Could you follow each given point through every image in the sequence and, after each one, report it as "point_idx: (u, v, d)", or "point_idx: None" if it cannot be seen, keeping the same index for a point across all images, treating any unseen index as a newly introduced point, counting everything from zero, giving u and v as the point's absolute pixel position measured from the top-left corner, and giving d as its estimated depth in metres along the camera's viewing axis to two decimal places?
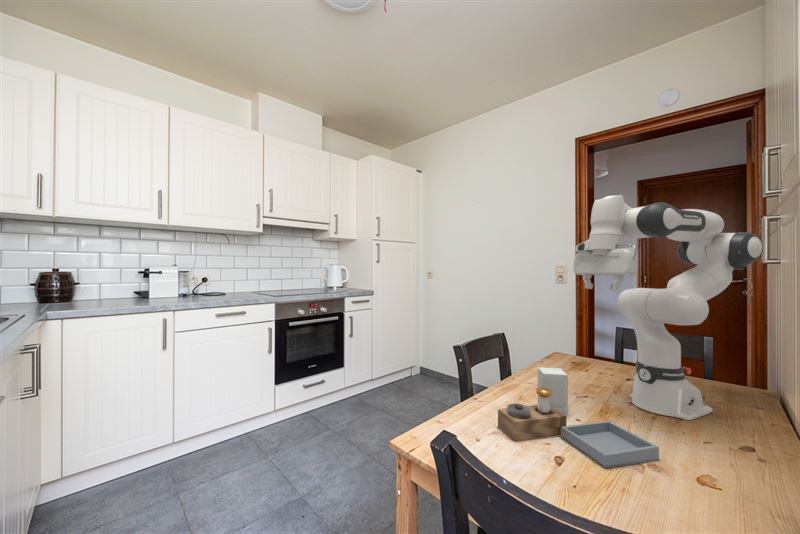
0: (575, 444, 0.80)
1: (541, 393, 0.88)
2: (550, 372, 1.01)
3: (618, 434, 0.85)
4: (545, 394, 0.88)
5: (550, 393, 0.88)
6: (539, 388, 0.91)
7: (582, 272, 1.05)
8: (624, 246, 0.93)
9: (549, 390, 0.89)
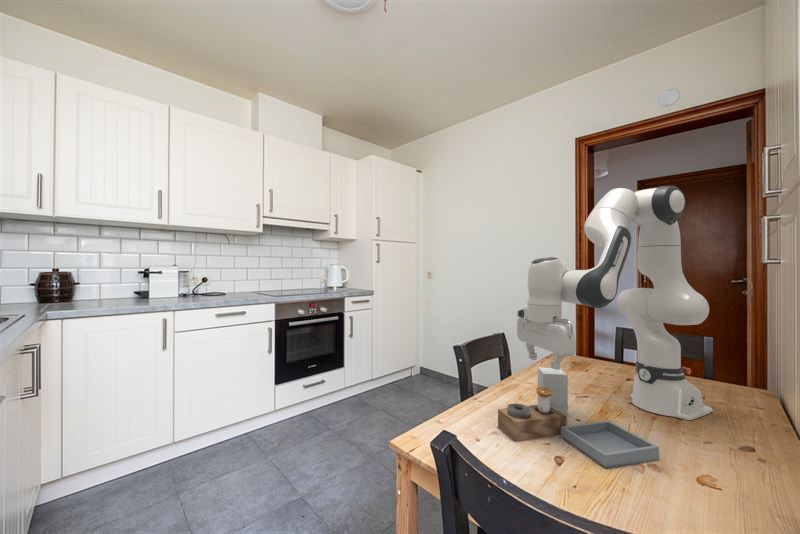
0: (575, 444, 0.80)
1: (541, 393, 0.88)
2: (550, 372, 1.01)
3: (618, 434, 0.85)
4: (545, 394, 0.88)
5: (550, 393, 0.88)
6: (539, 388, 0.91)
7: (525, 341, 0.95)
8: (561, 321, 0.83)
9: (549, 390, 0.89)
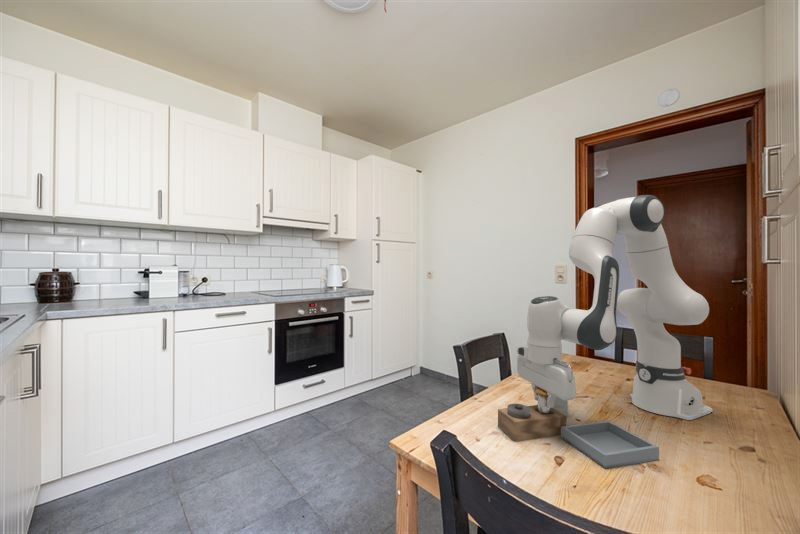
0: (575, 444, 0.80)
1: (541, 393, 0.88)
2: None
3: (618, 434, 0.85)
4: (545, 394, 0.88)
5: None
6: (539, 388, 0.91)
7: (525, 378, 0.95)
8: (561, 364, 0.83)
9: None
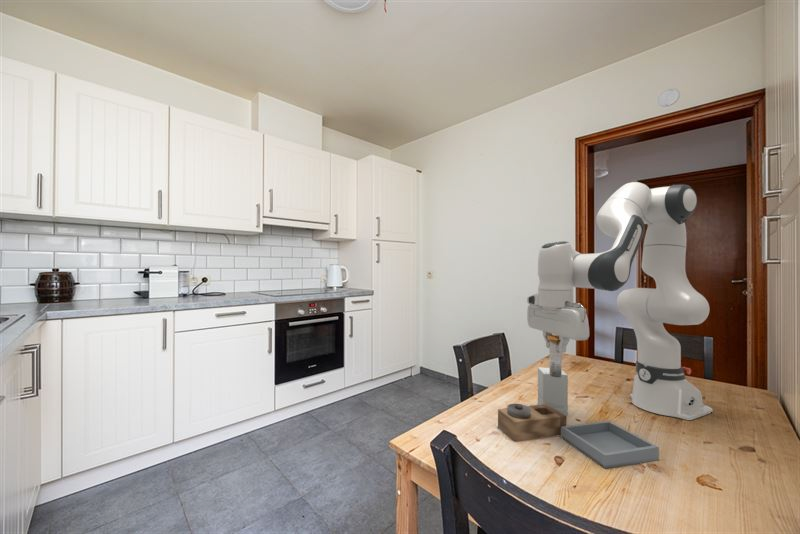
0: (575, 444, 0.80)
1: (553, 338, 0.87)
2: None
3: (618, 434, 0.85)
4: (557, 339, 0.86)
5: None
6: (550, 335, 0.89)
7: (536, 327, 0.94)
8: (573, 305, 0.81)
9: None
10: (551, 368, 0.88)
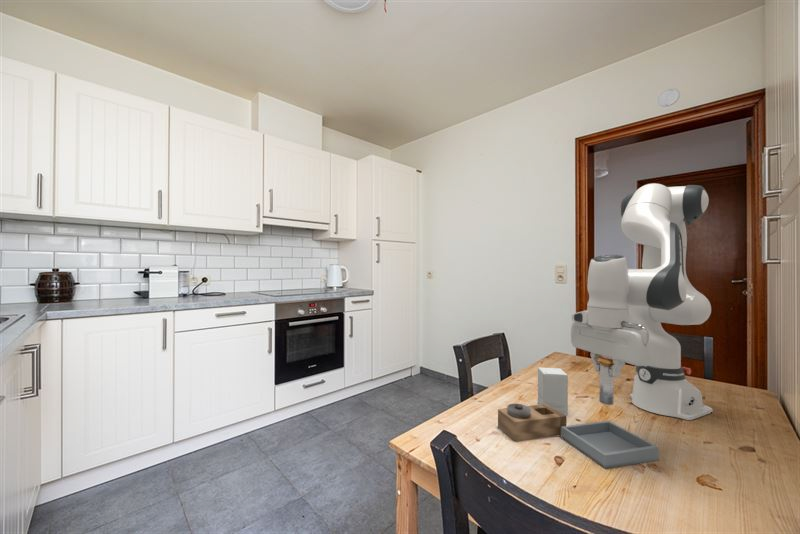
0: (575, 444, 0.80)
1: (605, 361, 0.79)
2: (550, 372, 1.01)
3: (618, 434, 0.85)
4: (610, 362, 0.78)
5: None
6: (601, 357, 0.81)
7: (582, 348, 0.86)
8: (632, 326, 0.73)
9: None
10: (602, 394, 0.79)
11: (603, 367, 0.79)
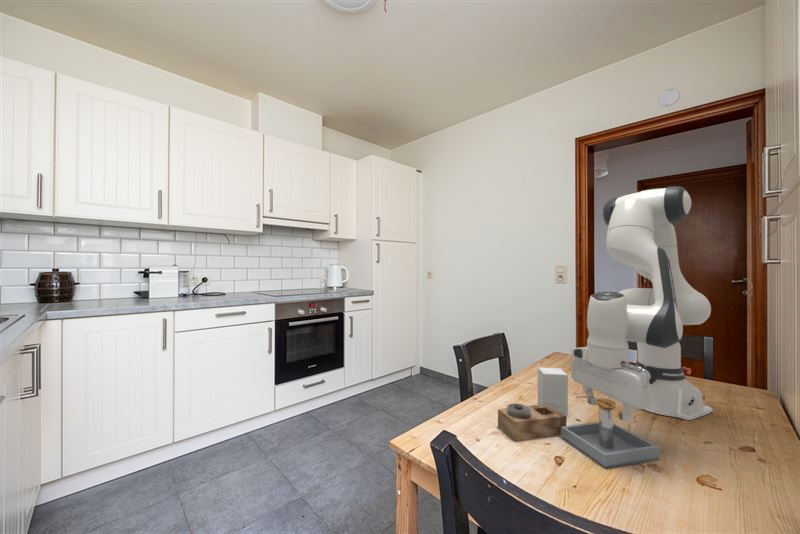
0: (575, 444, 0.80)
1: (604, 406, 0.79)
2: (550, 372, 1.01)
3: (618, 434, 0.85)
4: (609, 407, 0.78)
5: (614, 405, 0.79)
6: (600, 400, 0.81)
7: (582, 383, 0.86)
8: (632, 368, 0.73)
9: (612, 402, 0.80)
10: (602, 438, 0.80)
11: (602, 411, 0.80)
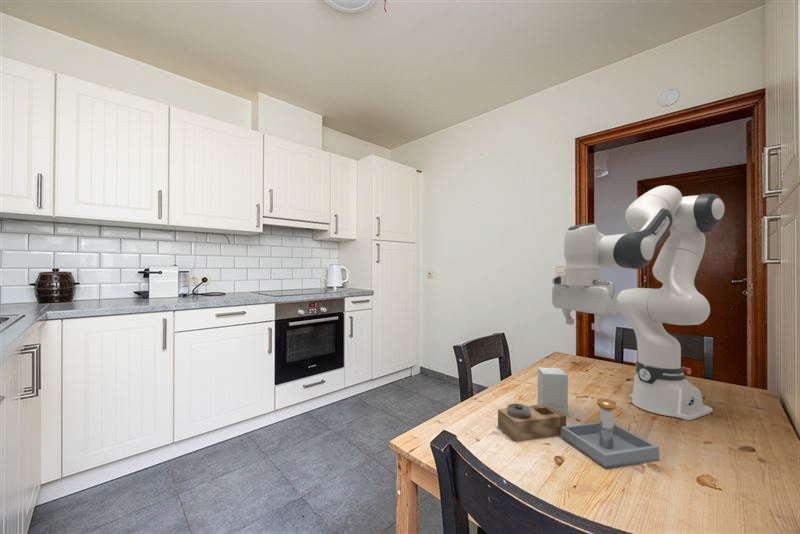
0: (575, 444, 0.80)
1: (604, 405, 0.79)
2: (550, 372, 1.01)
3: (618, 434, 0.85)
4: (609, 407, 0.78)
5: (615, 405, 0.79)
6: (600, 400, 0.81)
7: (561, 307, 0.98)
8: (602, 283, 0.86)
9: (613, 402, 0.80)
10: (602, 437, 0.80)
11: (603, 411, 0.80)
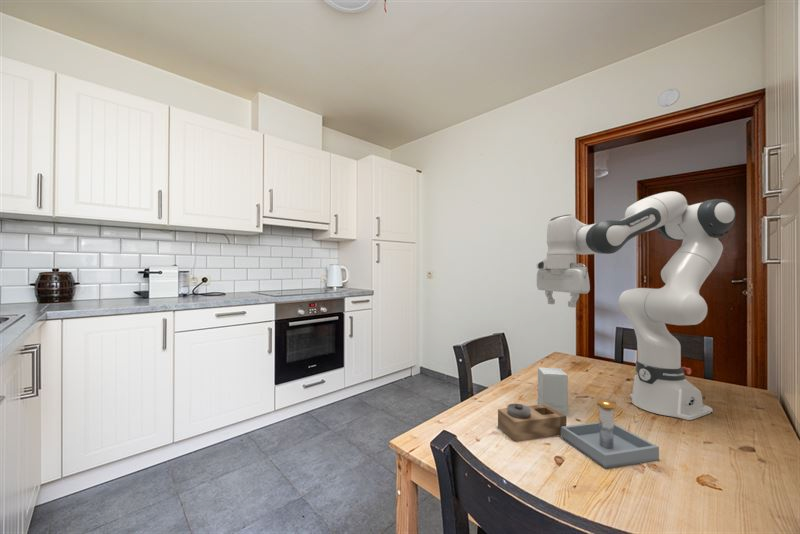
0: (575, 444, 0.80)
1: (604, 405, 0.79)
2: (550, 372, 1.01)
3: (618, 434, 0.85)
4: (609, 407, 0.78)
5: (615, 405, 0.79)
6: (600, 399, 0.81)
7: (544, 289, 1.11)
8: (577, 265, 0.99)
9: (613, 402, 0.80)
10: (602, 437, 0.80)
11: (603, 411, 0.80)
